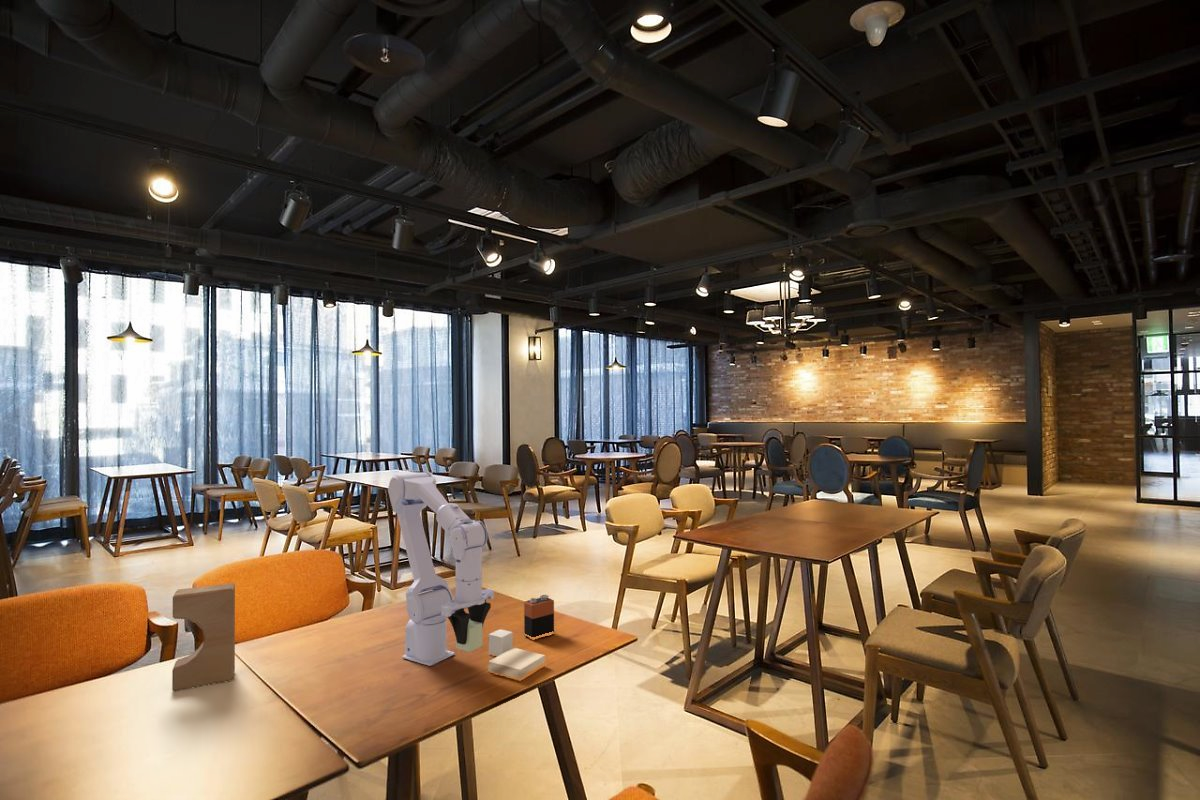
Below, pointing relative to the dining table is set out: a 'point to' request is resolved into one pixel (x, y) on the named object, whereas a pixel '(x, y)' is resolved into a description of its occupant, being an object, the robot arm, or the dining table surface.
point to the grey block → (500, 642)
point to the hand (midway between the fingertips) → (468, 639)
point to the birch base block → (515, 662)
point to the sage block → (472, 637)
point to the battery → (538, 616)
